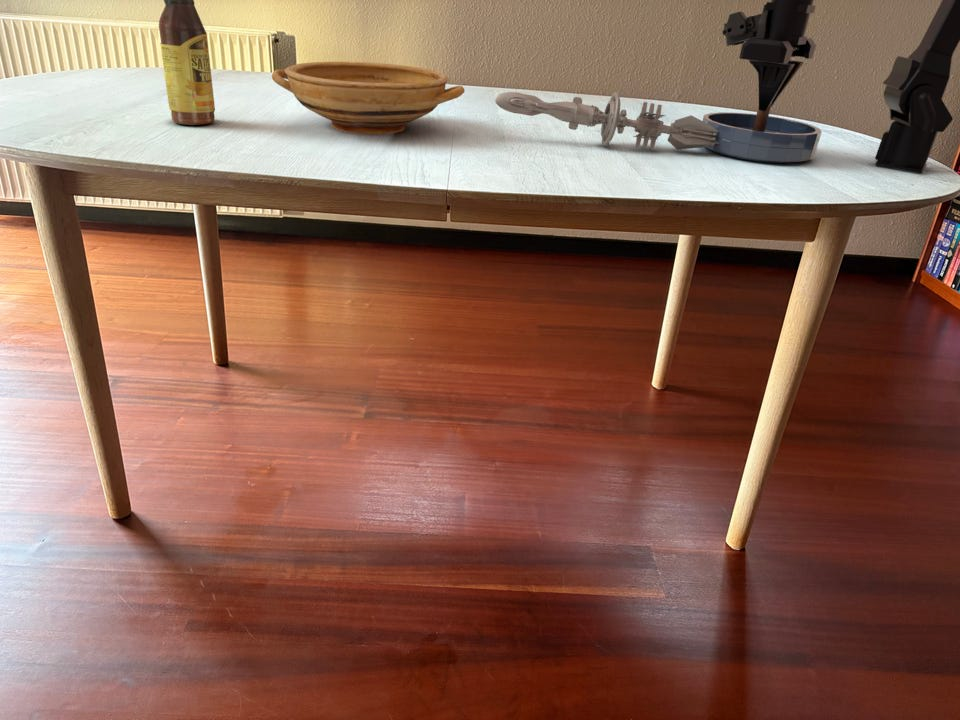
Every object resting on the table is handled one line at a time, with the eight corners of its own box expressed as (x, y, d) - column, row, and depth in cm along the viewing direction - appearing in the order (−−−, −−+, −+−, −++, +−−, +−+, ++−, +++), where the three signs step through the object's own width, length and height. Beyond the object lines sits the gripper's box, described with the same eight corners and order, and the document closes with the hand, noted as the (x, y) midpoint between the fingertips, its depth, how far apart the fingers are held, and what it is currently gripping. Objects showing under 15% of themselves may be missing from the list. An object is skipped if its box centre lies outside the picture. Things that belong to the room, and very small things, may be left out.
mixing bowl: (823, 154, 111) (832, 125, 109) (796, 172, 99) (805, 140, 96) (718, 135, 120) (724, 108, 118) (680, 149, 107) (687, 119, 105)
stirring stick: (770, 146, 109) (793, 61, 103) (763, 149, 106) (786, 62, 100) (745, 141, 111) (766, 58, 105) (738, 145, 108) (759, 59, 102)
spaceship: (497, 79, 106) (501, 63, 98) (715, 118, 108) (735, 106, 100) (489, 131, 107) (492, 119, 99) (705, 169, 109) (725, 160, 101)
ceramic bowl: (473, 121, 116) (476, 71, 112) (448, 152, 95) (451, 91, 91) (304, 106, 118) (301, 55, 114) (244, 132, 97) (237, 72, 93)
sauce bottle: (207, 128, 98) (187, -31, 88) (163, 125, 98) (139, -35, 88) (223, 119, 104) (206, -31, 94) (182, 116, 104) (160, -34, 94)
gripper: (756, -7, 109) (732, 96, 117) (717, -10, 95) (693, 107, 103) (829, -2, 104) (799, 106, 111) (799, -4, 90) (767, 119, 98)
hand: (764, 109), depth 106 cm, fingers closed on stirring stick, 2 cm apart
